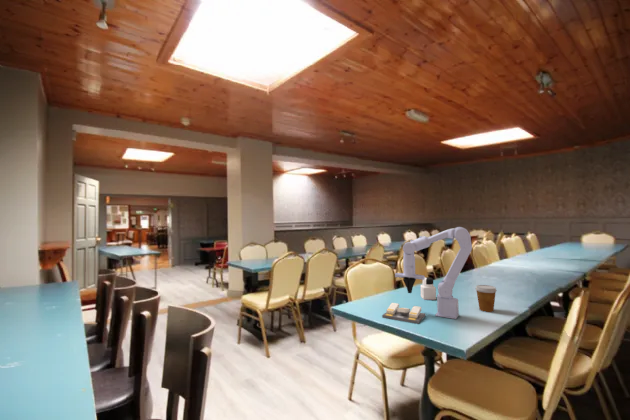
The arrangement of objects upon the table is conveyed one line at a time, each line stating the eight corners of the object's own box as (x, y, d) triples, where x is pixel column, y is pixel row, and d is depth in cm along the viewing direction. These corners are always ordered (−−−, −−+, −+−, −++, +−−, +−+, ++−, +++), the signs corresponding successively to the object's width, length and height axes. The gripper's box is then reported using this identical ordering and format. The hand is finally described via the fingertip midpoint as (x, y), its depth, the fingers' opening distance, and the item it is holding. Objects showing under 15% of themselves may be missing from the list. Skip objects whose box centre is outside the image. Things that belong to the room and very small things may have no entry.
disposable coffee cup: (499, 309, 159) (498, 286, 159) (494, 314, 152) (493, 289, 152) (479, 306, 165) (478, 283, 166) (473, 310, 159) (472, 287, 159)
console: (425, 315, 151) (425, 311, 151) (418, 323, 141) (417, 319, 141) (391, 310, 161) (391, 306, 161) (382, 317, 150) (382, 313, 150)
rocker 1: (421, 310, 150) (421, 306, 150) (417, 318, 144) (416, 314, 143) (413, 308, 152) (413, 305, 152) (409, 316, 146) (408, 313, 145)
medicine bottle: (432, 296, 187) (432, 276, 187) (436, 299, 180) (435, 279, 180) (420, 296, 187) (420, 276, 188) (423, 299, 180) (423, 279, 181)
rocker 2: (409, 312, 153) (410, 308, 153) (404, 312, 146) (405, 308, 147) (402, 311, 155) (402, 307, 155) (397, 311, 148) (397, 307, 149)
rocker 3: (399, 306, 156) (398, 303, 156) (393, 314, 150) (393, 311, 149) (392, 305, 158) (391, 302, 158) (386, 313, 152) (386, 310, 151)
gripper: (425, 265, 157) (426, 292, 157) (397, 263, 165) (398, 289, 165) (422, 267, 151) (422, 295, 151) (393, 265, 159) (393, 292, 159)
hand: (409, 292), depth 158 cm, fingers closed
